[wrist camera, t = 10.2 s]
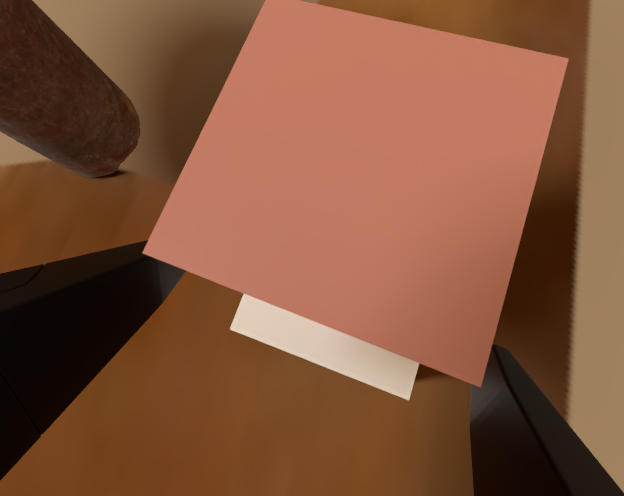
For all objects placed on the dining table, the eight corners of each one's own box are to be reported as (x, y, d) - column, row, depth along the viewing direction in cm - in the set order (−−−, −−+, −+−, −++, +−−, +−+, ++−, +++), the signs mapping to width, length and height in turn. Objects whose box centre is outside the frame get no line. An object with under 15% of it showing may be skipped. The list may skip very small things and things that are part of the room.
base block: (395, 384, 20) (408, 400, 16) (250, 327, 21) (229, 329, 17) (439, 236, 21) (460, 218, 17) (301, 194, 23) (293, 169, 19)
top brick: (375, 335, 17) (480, 387, 4) (288, 300, 17) (142, 252, 5) (404, 247, 17) (568, 58, 5) (320, 219, 18) (268, -7, 6)
